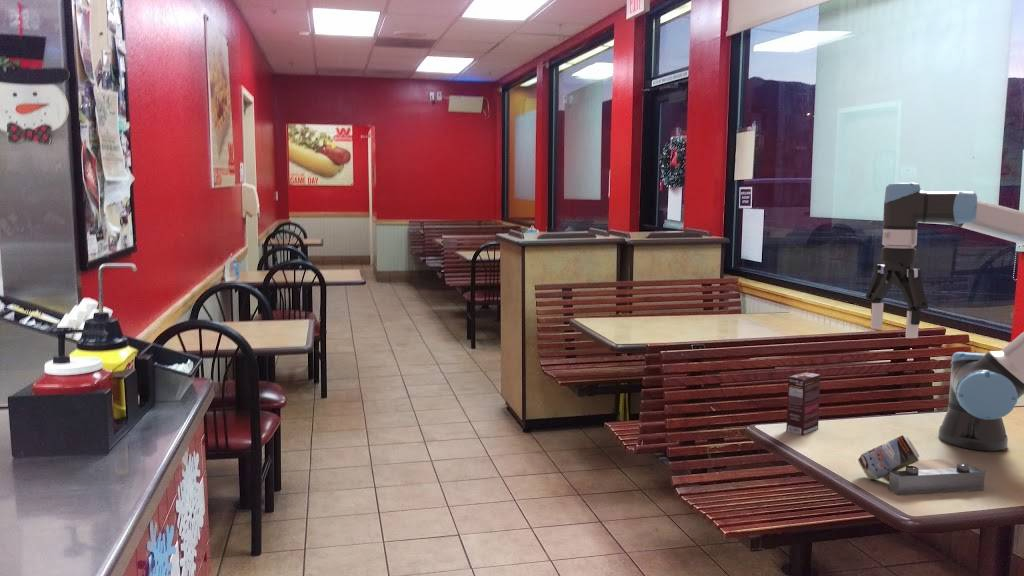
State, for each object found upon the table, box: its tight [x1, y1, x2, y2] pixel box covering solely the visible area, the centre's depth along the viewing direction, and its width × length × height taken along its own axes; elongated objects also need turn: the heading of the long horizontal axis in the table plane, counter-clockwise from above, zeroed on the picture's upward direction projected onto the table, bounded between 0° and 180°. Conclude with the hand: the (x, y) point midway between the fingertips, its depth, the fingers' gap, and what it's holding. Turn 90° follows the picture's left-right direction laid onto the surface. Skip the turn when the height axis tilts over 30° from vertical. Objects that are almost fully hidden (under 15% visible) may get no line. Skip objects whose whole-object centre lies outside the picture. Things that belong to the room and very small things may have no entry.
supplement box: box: [785, 371, 821, 436], centre depth 202 cm, size 9×5×16 cm, turn 131°
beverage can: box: [857, 434, 920, 480], centre depth 169 cm, size 6×7×12 cm
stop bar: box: [888, 462, 986, 496], centre depth 164 cm, size 20×3×5 cm, turn 99°
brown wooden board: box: [885, 458, 957, 479], centre depth 171 cm, size 16×10×3 cm, turn 99°
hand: (893, 333), depth 190 cm, fingers open, 13 cm apart
